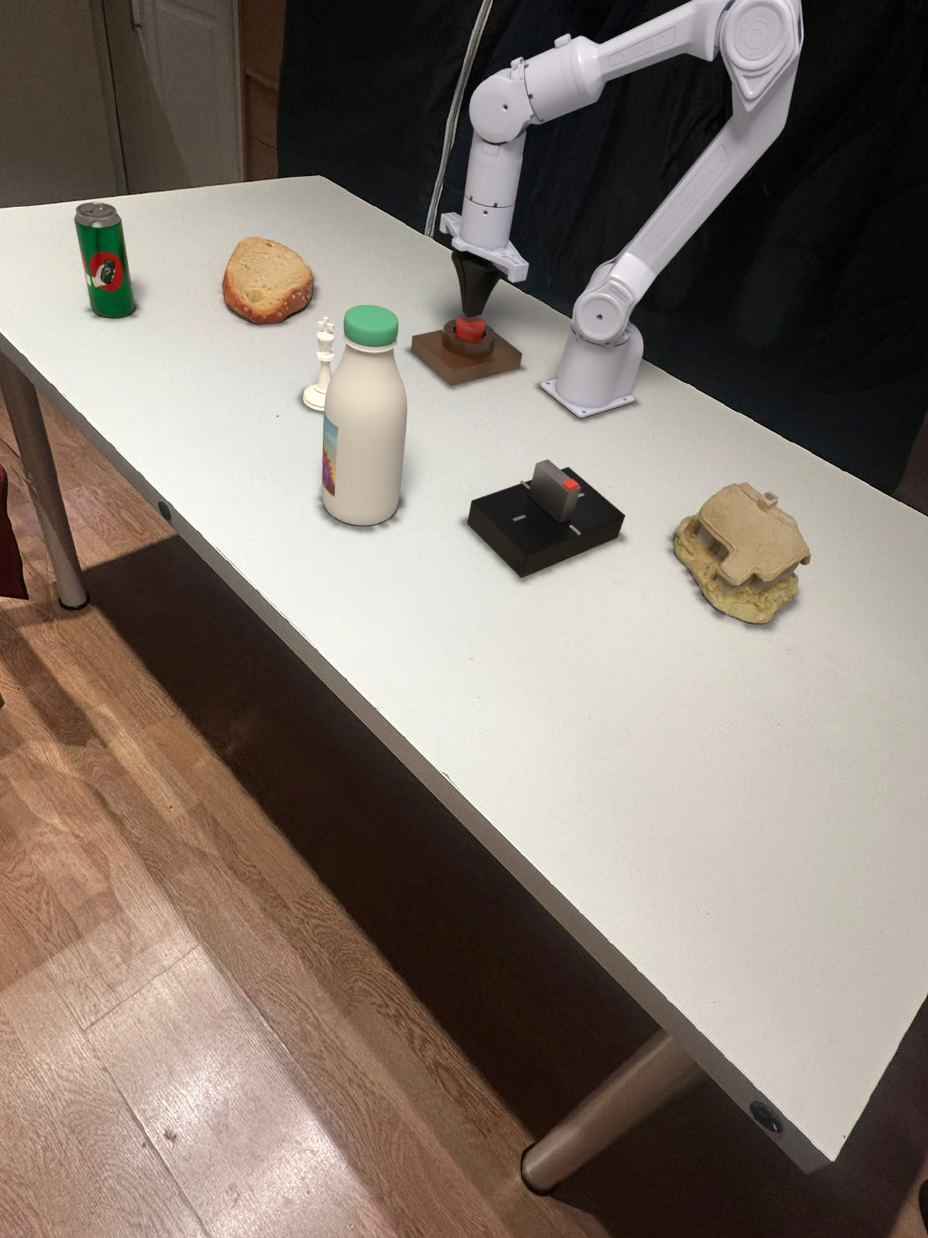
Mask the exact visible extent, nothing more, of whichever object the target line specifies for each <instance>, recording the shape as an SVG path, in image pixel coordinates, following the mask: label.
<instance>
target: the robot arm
mask: <svg viewBox="0 0 928 1238" xmlns="http://www.w3.org/2000/svg"><path fill="white" fill-rule="evenodd" d="M804 34H805V33H804V22H803V9H802V0H690V1H688V2H686V3H684V4H682V5H680V6H678V7H675V8H674V9H671V10H669V11H667V12H665V13H663V14H661V15H659V16H656V17H655V18H653V19H650V20H649V21H646V22H644V23H642V24H640V25H638V26H636V27H633V28H632V29H630V30H628V31H625V32H623V33H622V34H619V35H617V36H614V37H613V38H610V39H609V40H607V41H604V42H603V43H597V42H594V41H593V40H591V39H589V38H588V37H586V36H583V35H579V36H577V37H575V38H573V39H572V37H571V34H570V33H566V34H564V35H562V36H560V37H557V38H556V39H555V40H554V47H552V48H550V49H548V50H546V51H544V52H542V53H539V54H537V55H534V56H533V57H530V58H528V59H525V60H524V57H523V56H520V57H517V58H515V59H513V60H511V62H510V67H509V68H503V69H500V70H499V71H497V72H495V73H493V75H490V76H489V77H488V78H486V79H485V80H483V81H482V82H481V83H480V84H479V85H478V86H477V87H476V89H474V91H473V93H472V95H471V98H470V102H469V107H468V108H469V109H468V110H469V111H468V113H469V118H470V122H471V126H472V128H473V134H472V141H471V147H470V150H469V158H468V165H467V172H466V181H465V187H464V196H463V203H462V211H461V215H460V214H458V213H457V212H447V213H441V215H440V221H439V222H440V223H439V231H440V232H441V233H443V234H449V235H451V236H452V237H453V238H452V239H451V246H452V247H453V248H454V249H456V250H453V251H452V252H451V256H450V259H451V261H452V264H453V266H454V268H455V272H456V276H457V280H458V285H459V291H460V301H461V309H462V314H463V315H466V316H468V317H474V316H478V317H480V316H482V314H483V312H484V310H485V307H486V305H487V303H488V301H489V298H490V296H491V294H492V292H493V290H494V289H495V288H496V286H497V284H498V283H499V281H500V280H501V279H502V278H503V276H504V275H507V280H508V281H510V282H511V283H512V284H513V283H519V282H523V281H526V280H527V276H528V271H529V266H530V263H529V262H527V260H525V259H524V258H523V257H522V255H520V253H519V251H518V250H517V249H516V248H515V246H514V244H513V243H512V241H510V233H511V228H512V223H513V218H514V217H513V216H514V212H515V205H516V201H517V194H518V189H519V183H520V177H521V170H522V167H523V166H522V165H523V159H524V156H523V155H524V154H523V153H524V148H525V141H526V136H527V130H526V128H527V127H528V126H530V125H533V124H534V125H542V124H545V123H546V122H549V121H551V120H554V119H557V118H559V117H561V116H564V115H567V114H570V113H571V112H573V111H576V110H579V109H582V108H584V107H586V106H589V105H592V104H594V103H597V102H598V101H599V99H600V97H601V95H602V92H603V90H604V87H605V85H606V83H607V82H609V81H611V80H614V79H616V78H620V77H623V76H624V75H627V74H630V73H633V72H635V71H638V70H641V69H644V68H646V67H649V66H652V65H655V64H657V63H660V62H663V61H665V60H668V59H670V58H674V57H676V56H679V55H681V54H688V55H691V56H693V57H697V58H699V59H702V60H705V61H707V62H710V63H711V62H713V61H714V60H715V58H716V57H717V55H718V54H719V52H720V55H721V57H722V61H723V63H724V66H725V68H726V71H727V73H728V76H729V78H730V81H731V97H732V98H731V99H732V115H731V117H730V118H729V119H728V120H727V122H726V123H725V124H724V125H723V127H722V128H721V129H720V130H719V132H718V133H716V135H715V137H714V138H713V139H712V140H711V142H710V143H709V144H708V145H707V147H706V148H704V150H703V151H702V153H701V154H700V155H699V156H698V158H697V159H696V160H695V161H694V163H693V164H692V165H690V168H689V169H688V170H687V171H686V172H685V174H684V175H683V176H682V177H681V178H680V179H679V181H678V182H677V183H676V185H675V186H674V188H672V190H671V191H670V192H669V194H668V195H667V196H666V197H665V198H664V199H663V201H662V202H661V203H660V205H658V207H657V208H656V209H655V211H654V212H653V213H652V214H651V215H650V217H649V218H648V219H647V220H646V222H645V223H644V224H643V226H642V227H641V228H640V229H639V230H638V232H637V233H636V234H635V235H634V237H633V239H631V240H630V241H629V242H628V243H627V244H626V245H625V246H624V247H623V248H622V250H620V252H619V253H618V254H617V255H616V256H615V257H613V258H612V259H610V260H607V261H605V262H603V263H602V264H599V266H597V267H596V269H595V270H594V271H593V273H592V274H591V278H590V280H589V282H588V284H587V285H586V287H585V289H584V290H583V292H582V293H581V294H580V295H579V296H578V297H577V299H576V301H575V303H574V305H573V308H572V318H571V321H570V325H569V329H568V333H567V338H566V342H565V346H564V350H563V354H562V357H561V358H562V359H561V361H560V367H559V370H558V374H557V377H556V378H554V379H550V380H546V381H542V382H541V383H540V387H541V389H542V390H544V391H545V392H546V393H547V394H549V395H550V396H551V397H552V398H553V399H555V400H556V401H558V402H559V403H560V404H562V405H563V406H564V407H565V408H567V410H569V411H570V412H571V413H572V414H573V415H575V416H576V417H578V418H580V419H583V418H586V417H589V416H592V415H596V414H599V413H603V412H606V411H608V410H612V409H615V408H618V407H622V406H625V405H628V404H631V403H634V401H635V397H634V396H633V395H632V394H631V393H632V390H633V388H634V387H633V386H634V383H635V380H636V377H637V373H638V371H639V368H640V365H641V361H642V358H643V355H644V340H643V336H642V333H641V332H640V330H639V329H638V327H637V326H636V325H635V324H633V323H632V322H630V317H631V315H632V314H633V311H634V309H635V307H636V306H637V304H638V303H639V302H640V301H641V300H642V298H643V296H644V295H645V294H646V292H647V291H648V289H650V286H651V285H652V284H653V282H654V281H655V279H656V278H657V276H658V275H660V273H661V272H662V271H663V270H664V269H665V267H666V266H667V265H668V264H669V263H670V261H672V259H673V258H674V257H675V256H676V255H677V254H678V253H679V251H680V250H682V248H683V247H684V245H685V244H686V243H687V242H688V241H689V240H690V238H692V236H693V235H694V234H695V233H696V232H697V230H698V229H699V228H700V227H701V226H702V225H703V224H704V222H705V221H706V220H707V219H708V218H709V217H710V216H711V214H713V212H714V211H715V210H716V209H717V208H718V206H719V205H720V204H721V203H722V202H723V201H724V199H726V198H727V196H728V195H729V193H731V191H732V190H733V189H734V188H735V187H736V186H737V184H738V183H739V182H740V181H741V180H742V179H743V178H744V176H745V175H747V173H748V172H749V171H750V169H752V167H753V166H754V165H755V164H756V163H757V162H758V160H759V159H760V158H761V157H762V156H763V155H764V154H765V152H766V151H767V150H768V149H769V148H770V146H771V145H772V144H773V143H774V142H775V141H776V139H777V138H778V137H779V136H780V135H781V133H782V131H783V130H784V128H785V125H786V122H787V119H788V114H789V110H790V105H791V100H792V97H793V96H792V95H793V90H794V85H795V81H796V76H797V72H798V65H799V61H800V56H801V51H802V47H803V42H804V38H805V37H804V36H805V35H804Z"/></svg>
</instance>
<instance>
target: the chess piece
mask: <svg viewBox="0 0 928 1238" xmlns="http://www.w3.org/2000/svg"><path fill="white" fill-rule="evenodd" d="M317 327H319V328H322V329H323V330H320V331H318V332H317V333H316V335H315V336H316V340H317V342H318V346H319V350H316V353H315V358H316V359H317V360H319V361H320V365H319V373H318V379H317V383H313V384H310V385H308V386H307V387H306V388H305V389H304V391H303V396H302V400H303V401H302V402H303V403H304V405H306V406H307V407H309V408H310V409H312V410H316V411H318V412H324V403H325V396H326V391H327V388H328V385H329V382H330V380H331V377H332V371H331V361H334V360H335V359H336V354H335V353H334V351H332V347H333V344H334V342H335V339H336V335H335V333H334V332H332V331H333V330H334V329H335V324H334V323H331V322H330V321H329V316H324V317H323V319H322V321H321V320H318V321H317ZM330 330H331V331H330Z"/></svg>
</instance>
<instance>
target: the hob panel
mask: <svg viewBox="0 0 928 1238" xmlns="http://www.w3.org/2000/svg"><path fill="white" fill-rule="evenodd" d="M560 470H561V471H562V472H564V473H565V474H566V475H567V476H568V477H569V478H571V479H573V480H574V481H576V482H577V483H578V484H579V486H580V487H581V489H580V492H579V496H578V499H577V502H576V506H575V509H574V512H573V516H572V519H571V520H569V521H566V522H564V523H561V524H559V523H558V522H557V521H556V520H555V519H553V518H552V517H551V516H550V515H549V514H548V513H547V512H546V511H545V510H544V509H543V508H541V507H540V506H539V505H538V504H537V503H536V502H535V501H534V500H533V499H532V498H530V497H529V496H528V494H529V490H530V486H531V482H532V479H529V480H527V481H524V480H520V481H519V483H518V484H515V485H512V486H509V487H506V488H503V489H500V490H497V491H495V492H492V493H488V494H486V495H483V496H480V497H477V498H475V499H472V500H471V501H470V506H469V512H468V517H467V523H466V524H467V525H468V526H469V527H470V528H471V529H472V530H473V531H474V532H475V533H476V534H477V535H478V536H479V537H480V538H481V539H482V540H483V541H484V542H485V543H486V544H487V545H488V546H489V547H490V548H491V549H492V550H493V551H494V552H495V553H496V554H497V555H498V556H499V557H500V558H501V559H502V560H503V561H504V562H505V563H506V564H507V565H508V566H509V567H510V568H511V569H512V570H513V571H514V572H515V573H516V574H517V575H518V577H520V578H525V577H527V576H529V575H532V574H534V573H536V572H539V571H541V570H544V569H546V568H549V567H551V566H553V565H555V564H558V563H560V562H563V561H565V560H568V559H570V558H573V557H574V556H577V555H579V554H582V553H584V552H586V551H589V550H592V549H594V548H596V547H598V546H601V545H603V544H605V543H608V542H611V541H612V540H615V539H617V538H618V537H619V535H620V532H621V529H622V527H623V524H624V521H625V518H626V515H625V514H624V512H622V511H621V510H620V509H619V508H618V507H616V506H615V505H614V504H613V503H612V502H611V501H610V500H608V499H607V498H606V497H605V496H603V494H601V493H600V492H599V491H598V490H597V489H595V488H594V487H593V486H592V485H590V483H589V482H588V481H586V480H585V479H583V478H582V477H581V476H580V475H579V474H578V473H577V472H575V471H574V470H573V469H572V468H571V467H570V466H567V467H563V468H561V469H560Z"/></svg>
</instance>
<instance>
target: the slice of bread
mask: <svg viewBox="0 0 928 1238" xmlns="http://www.w3.org/2000/svg"><path fill="white" fill-rule="evenodd" d="M221 289H222V293H223V299H224V301H225V303H226V304H227V305H228V306H229V307H230V308H231V309H232V310H233V311H234V312H235V313H237V314H238V315H239V316H241V317H243V318H244V319H247V320H248V321H250V322H251V323H253V324H258V325H262V324H274V323H275V324H276V323H280V322H283V321H284V320H285V319H286V317H288V316H289V315H292V314H293V313H296V312H298V311H301V310H302V309H304V308H305V307H306V306H307V305H308V304H309V302H310V301H311V298H312V296H313V295H312V294H313V289H314V278H313V272H312V269H311V267H310V266H309V265H308V264H307V265H306V263H305V262H304V260H303V257H302V256H301V255H300V254H299V253H297V252H296V251H295V250H293V249H291V248H289V247H288V246H286V245H284V244H282V243H279V242H277V241H273V240H271V239H268V238H264V237H263V238H262V237H258V236H245V237H244V238H243V239H242V240H241V241H239V242H238V243H237V245H236V247H234V250H233V252H232V254H231V256H230V258H229V259H228V263H227V265H226V267H225V270H224V274H223V277H222V284H221Z"/></svg>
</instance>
